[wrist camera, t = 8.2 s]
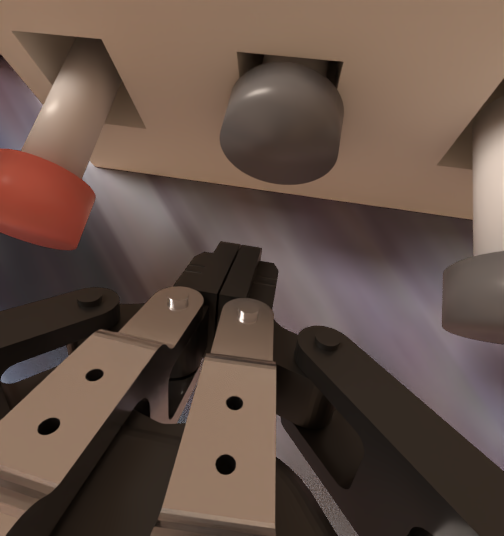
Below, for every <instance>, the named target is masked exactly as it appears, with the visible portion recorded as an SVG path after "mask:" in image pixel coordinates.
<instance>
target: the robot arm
mask: <svg viewBox="0 0 504 536" xmlns="http://www.w3.org/2000/svg"><path fill="white" fill-rule="evenodd" d="M261 252H262V248H259V247H253V246H246V245H240V244H234V243H228V242H222V241H221V242H220V243H219V245H218V246H217V248H216V250H215V251H214V253H209V252H203V253H201V254H199V255H197V256H195V257H194V258H193V260H192V261H191V262H190V264H189V265H188V266H187V268H186V269H185V271H184V272H183V273H182V275H181V276H180V277H179V279H178V280H177V282H176V283H175V284H174V286H173V287H169V288H165V289H162V290H160V291H158V292H157V293H155V294H154V295H153V296H152V297H151V298H150V299H149V300H148V302H147V303H143V304H120V303H119V296H118V294H117V293H116V292H114V291H112V290H110V289H107V288H100V287H92V288H84V289H80V290H76V291H73V292H69V293H65V294H62V295H58V296H55V297H51V298H47V299H44V300H40V301H36V302H33V303H29V304H25V305H22V306H18V307H14V308H11V309H7V310H3V311H0V380H1V376H2V374H3V373H4V372H5V370H7V369H8V368H9V367H10V366H12V365H14V364H16V363H19V362H21V361H24V360H27V359H29V358H32V357H35V356H38V355H40V354H43V353H46V352H49V351H51V350H54V349H57V348H59V347H62V346H65V345H67V351H68V357H67V358H66V359H65V360H64V361H63V362H62V363H61V364H60V365H59V366H56V367H54V368H51V369H49V370H46V371H44V372H41V373H39V374H36V375H34V376H31V377H29V378H26V379H24V380H21V381H19V382H16V383H12V384H6V383H2V382H1V381H0V536H338V535H337V534H336V532H335V531H334V529H333V527H332V526H331V524H330V522H329V521H328V519H327V517H326V516H325V514H324V513H323V511H322V509H321V508H320V506H319V504H318V503H317V501H316V499H315V498H314V496H313V495H312V493H311V492H310V490H309V489H308V488H307V486H306V485H305V484H304V483H303V481H302V480H301V479H300V478H299V477H298V476H297V475H296V474H295V473H294V471H293V470H292V469H291V468H290V467H288V466H287V465H286V464H285V463H283V462H282V461H281V460H280V459H278V458H277V457H276V414H277V415H279V416H281V422H282V425H283V427H284V429H285V430H286V432H287V433H288V434H289V436H290V437H291V439H292V440H293V442H294V443H295V445H296V446H297V447H298V449H299V450H300V452H301V453H302V455H303V456H304V457H305V459H306V460H307V462H308V463H309V465H310V466H311V468H312V469H313V470H314V472H315V473H316V475H317V476H318V478H319V479H320V480H321V482H322V483H323V485H324V486H325V488H326V489H327V491H328V492H329V493H330V495H331V496H332V498H333V499H334V501H335V502H336V503H337V505H338V506H339V508H340V509H341V511H342V512H343V514H344V515H345V516H346V518H347V519H348V521H349V522H350V524H351V525H352V526H353V528H354V529H355V531H356V532H357V534H358V535H359V536H504V471H503V470H501V469H500V468H499V467H498V466H497V465H496V464H494V463H493V462H492V461H491V460H490V459H489V458H487V457H486V456H485V455H484V454H483V453H482V452H480V451H479V450H478V449H477V448H476V447H475V446H473V445H472V444H471V443H470V442H469V441H468V440H466V439H465V438H464V437H463V436H462V435H461V434H459V433H458V432H457V431H456V430H455V429H454V428H453V427H451V426H450V425H449V424H448V423H447V422H446V421H444V420H443V419H442V418H441V417H440V416H439V415H437V414H436V413H435V412H434V411H433V410H432V409H430V408H429V407H428V406H427V405H426V404H425V403H423V402H422V401H421V400H420V399H419V398H418V397H416V396H415V395H414V394H413V393H412V392H411V391H409V390H408V389H407V388H406V387H405V386H404V385H402V384H401V383H400V382H399V381H398V380H397V379H395V378H394V377H393V376H392V375H391V374H390V373H388V372H387V371H386V370H385V369H384V368H383V367H381V366H380V365H379V364H378V363H377V362H376V361H374V360H373V359H372V358H371V357H370V356H369V355H367V354H366V353H365V352H364V351H363V350H362V349H360V348H359V347H358V346H357V345H356V344H355V343H353V342H352V341H351V340H350V339H349V338H348V337H346V336H345V335H344V334H342V333H341V332H339V331H337V330H335V329H332V328H329V327H324V326H311V327H307V328H305V329H303V330H302V331H301V332H300V333H299V335H297V334H295V333H293V332H290V331H288V330H286V329H284V328H283V327H281V326H280V325H279V324H278V323H277V322H276V321H275V320H274V314H273V311H272V307H273V301H274V295H275V289H276V283H277V277H278V269H277V268H276V266H275V265H274V263H269V262H263V261H260V260H261ZM202 358H205V359H204V362H203V366H202V369H201V373H200V362H201V360H202ZM198 379H199V380H198ZM197 382H198V383H197ZM196 384H197V387H196V390H195V394H194V397H193V401H192V404H191V408H190V411H189V415H188V418H187V422H186V423H182V424H177V422H178V420H179V418H180V416H181V414H182V412H183V410H184V408H185V406H186V404H187V402H188V400H189V398H190V396H191V394H192V392H193V390H194V388H195V386H196Z"/></svg>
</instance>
